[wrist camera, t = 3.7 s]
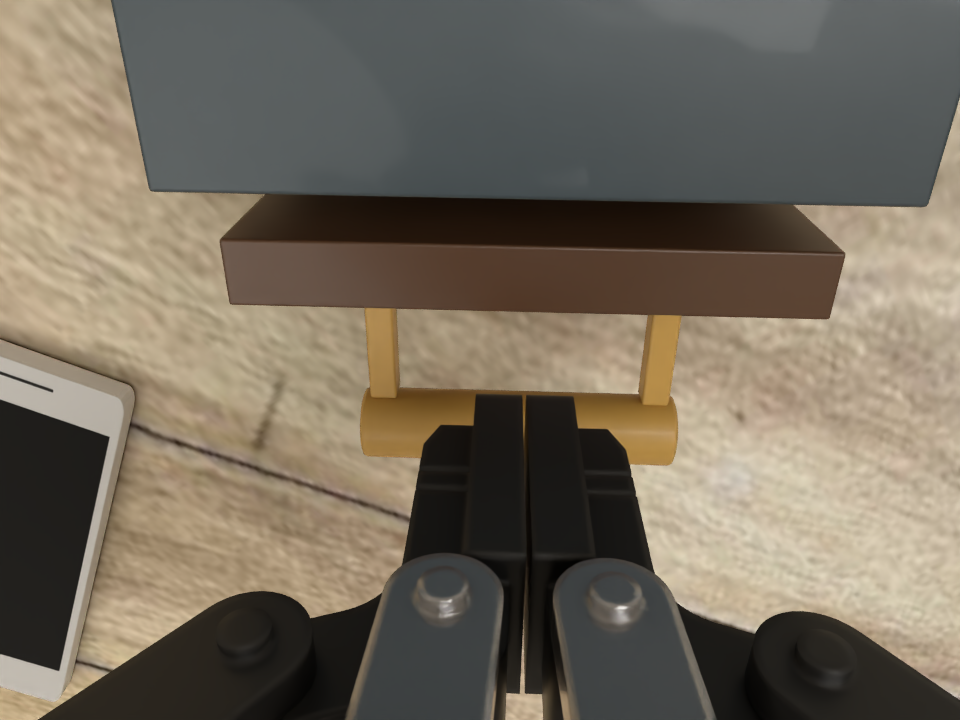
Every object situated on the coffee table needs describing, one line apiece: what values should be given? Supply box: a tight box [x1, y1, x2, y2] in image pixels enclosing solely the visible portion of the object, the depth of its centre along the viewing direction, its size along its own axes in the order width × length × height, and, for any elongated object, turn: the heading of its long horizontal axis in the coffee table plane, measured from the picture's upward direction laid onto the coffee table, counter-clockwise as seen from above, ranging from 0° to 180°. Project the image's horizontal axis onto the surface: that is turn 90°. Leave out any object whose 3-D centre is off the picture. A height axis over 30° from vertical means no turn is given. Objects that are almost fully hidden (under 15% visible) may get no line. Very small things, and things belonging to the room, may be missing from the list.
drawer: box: [220, 194, 845, 465], centre depth 15 cm, size 16×10×8 cm, turn 0°
